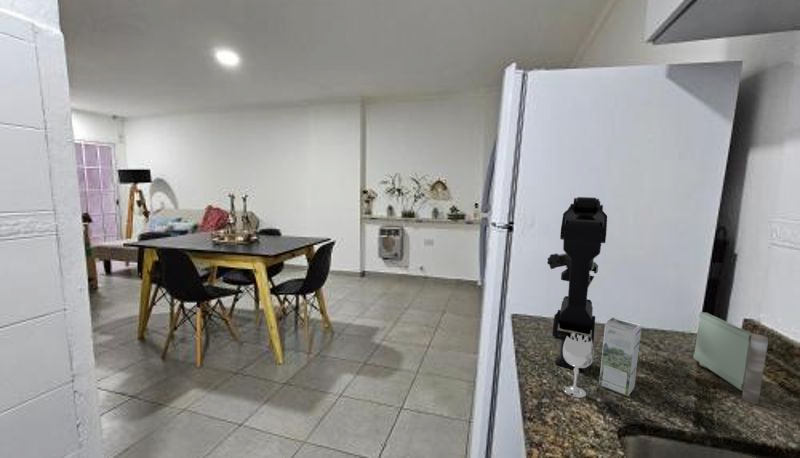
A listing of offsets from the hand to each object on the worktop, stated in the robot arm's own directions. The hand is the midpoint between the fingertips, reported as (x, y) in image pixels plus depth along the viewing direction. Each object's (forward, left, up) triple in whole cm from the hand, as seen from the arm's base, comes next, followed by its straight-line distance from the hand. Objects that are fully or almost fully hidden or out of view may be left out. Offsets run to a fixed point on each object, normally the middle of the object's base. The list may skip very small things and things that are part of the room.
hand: (577, 301), depth 97 cm
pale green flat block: (+1, -30, -10) cm, 32 cm away
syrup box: (-19, -12, -12) cm, 26 cm away
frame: (0, -32, -12) cm, 34 cm away
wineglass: (-27, -5, -12) cm, 30 cm away
